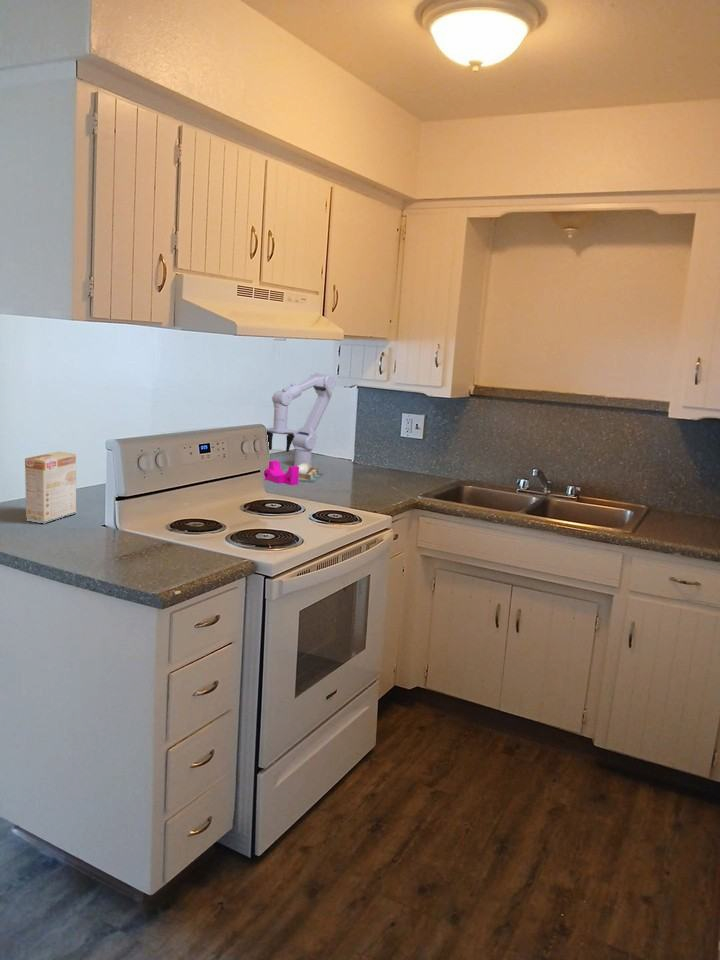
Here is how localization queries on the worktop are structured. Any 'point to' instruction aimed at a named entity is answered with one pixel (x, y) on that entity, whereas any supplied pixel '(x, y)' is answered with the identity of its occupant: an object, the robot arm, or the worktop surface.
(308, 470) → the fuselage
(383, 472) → the worktop surface
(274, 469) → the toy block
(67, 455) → the coffeecake box
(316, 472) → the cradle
